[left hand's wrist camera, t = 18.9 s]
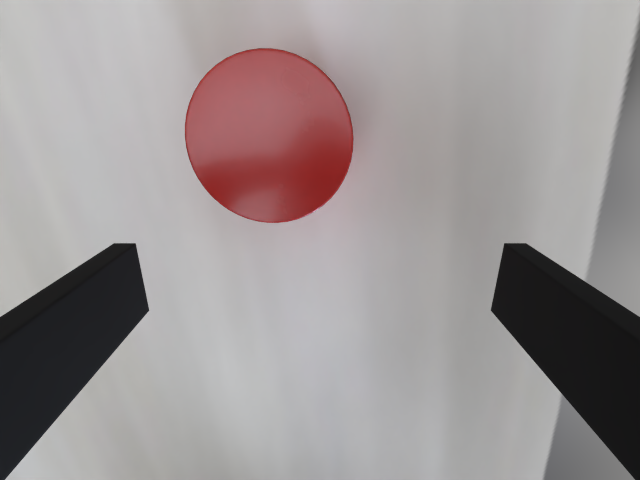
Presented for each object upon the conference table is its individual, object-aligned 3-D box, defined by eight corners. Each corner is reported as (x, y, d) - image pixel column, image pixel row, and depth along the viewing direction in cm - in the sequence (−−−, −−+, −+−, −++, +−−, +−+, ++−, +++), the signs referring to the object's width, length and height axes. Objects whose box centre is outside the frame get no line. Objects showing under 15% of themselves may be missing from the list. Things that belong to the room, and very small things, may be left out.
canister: (354, 83, 21) (372, 71, 14) (329, 195, 24) (332, 236, 16) (237, 55, 21) (190, 28, 13) (224, 173, 24) (178, 206, 16)
